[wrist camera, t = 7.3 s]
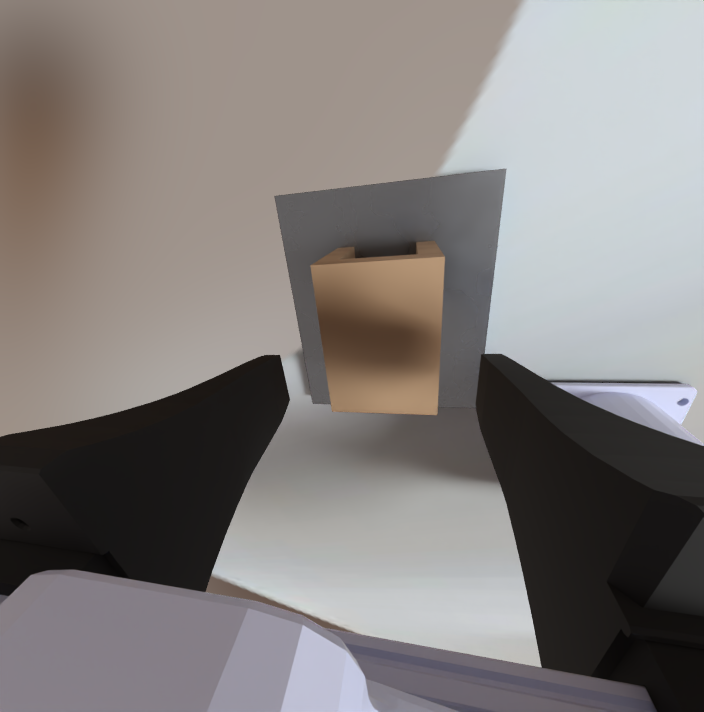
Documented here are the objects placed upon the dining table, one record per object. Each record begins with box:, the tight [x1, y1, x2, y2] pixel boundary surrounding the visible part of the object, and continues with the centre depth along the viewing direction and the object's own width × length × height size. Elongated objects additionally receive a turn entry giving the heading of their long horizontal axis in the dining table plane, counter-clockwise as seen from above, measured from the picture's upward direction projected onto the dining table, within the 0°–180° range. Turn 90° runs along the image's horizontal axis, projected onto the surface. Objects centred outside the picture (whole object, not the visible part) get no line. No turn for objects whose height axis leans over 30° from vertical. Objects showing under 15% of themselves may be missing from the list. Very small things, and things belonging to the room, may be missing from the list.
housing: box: [310, 241, 445, 415], centre depth 15 cm, size 7×5×5 cm
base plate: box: [275, 169, 506, 408], centre depth 16 cm, size 13×11×4 cm
